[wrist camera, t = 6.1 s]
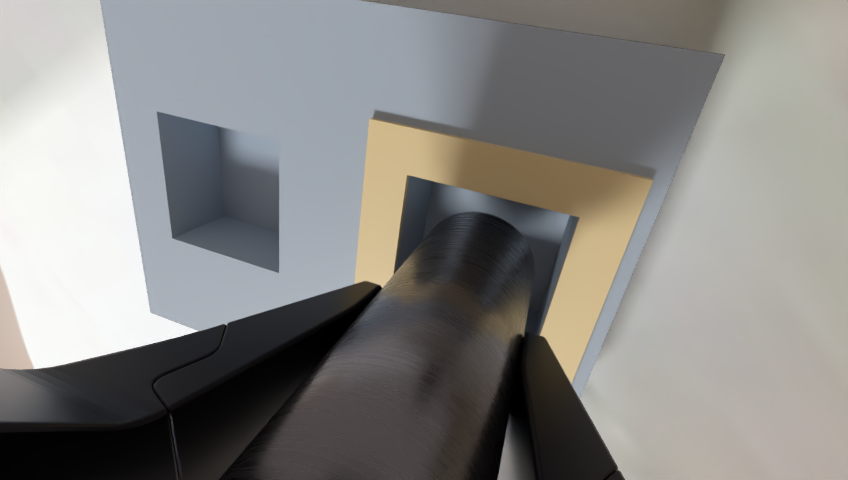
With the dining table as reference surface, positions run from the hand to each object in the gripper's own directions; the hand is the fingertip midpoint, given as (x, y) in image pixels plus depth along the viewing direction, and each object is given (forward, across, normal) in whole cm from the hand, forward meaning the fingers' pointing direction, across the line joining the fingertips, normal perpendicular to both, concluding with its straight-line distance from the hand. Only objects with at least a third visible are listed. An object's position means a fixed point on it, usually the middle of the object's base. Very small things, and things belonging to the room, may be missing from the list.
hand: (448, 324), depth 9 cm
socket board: (+6, +4, 0) cm, 7 cm away
